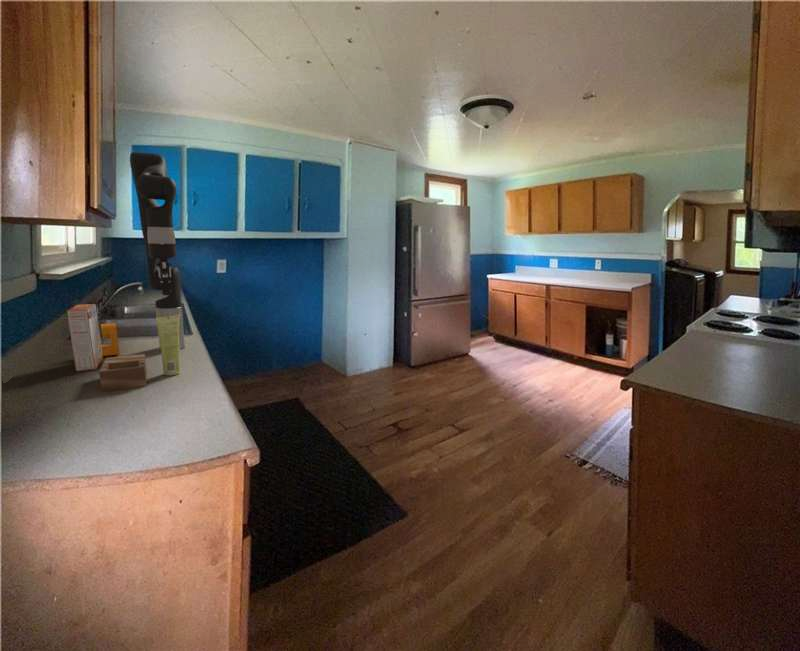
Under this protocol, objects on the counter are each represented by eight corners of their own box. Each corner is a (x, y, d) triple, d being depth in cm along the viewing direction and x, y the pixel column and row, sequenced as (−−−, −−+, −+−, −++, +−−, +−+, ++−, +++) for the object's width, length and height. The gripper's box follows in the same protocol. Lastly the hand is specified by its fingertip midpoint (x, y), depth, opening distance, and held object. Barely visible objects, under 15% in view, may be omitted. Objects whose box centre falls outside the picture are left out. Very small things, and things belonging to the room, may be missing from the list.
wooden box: (107, 376, 132) (105, 357, 131) (147, 371, 138) (145, 354, 137) (101, 391, 119) (99, 371, 118) (146, 386, 124) (144, 366, 123)
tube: (168, 371, 139) (163, 314, 135) (184, 371, 140) (179, 314, 136) (160, 376, 134) (155, 317, 130) (177, 376, 134) (172, 317, 130)
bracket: (96, 352, 160) (92, 322, 158) (118, 350, 164) (114, 321, 162) (96, 358, 152) (92, 327, 149) (119, 356, 156) (116, 325, 154)
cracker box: (83, 361, 148) (76, 304, 144) (103, 359, 151) (96, 303, 147) (74, 372, 136) (65, 310, 132) (96, 370, 139) (88, 309, 135)
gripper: (148, 242, 132) (152, 291, 136) (147, 242, 120) (152, 296, 124) (174, 242, 136) (178, 290, 139) (176, 242, 124) (180, 295, 127)
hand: (166, 293), depth 131 cm, fingers open, 8 cm apart
